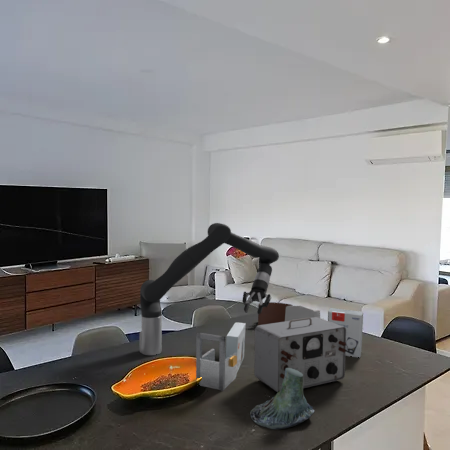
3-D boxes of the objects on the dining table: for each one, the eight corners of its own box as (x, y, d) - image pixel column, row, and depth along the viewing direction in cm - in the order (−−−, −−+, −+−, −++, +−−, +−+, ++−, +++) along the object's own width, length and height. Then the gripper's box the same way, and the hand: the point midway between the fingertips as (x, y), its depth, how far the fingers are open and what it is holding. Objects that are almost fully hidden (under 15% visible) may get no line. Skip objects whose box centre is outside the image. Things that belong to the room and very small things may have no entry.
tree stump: (248, 403, 151) (261, 354, 151) (303, 418, 150) (316, 369, 150) (249, 428, 132) (264, 372, 132) (312, 445, 132) (327, 389, 132)
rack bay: (196, 384, 164) (196, 333, 163) (211, 372, 176) (212, 324, 175) (224, 391, 159) (225, 338, 158) (238, 377, 171) (239, 328, 170)
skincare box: (237, 375, 174) (238, 336, 173) (224, 374, 175) (224, 335, 174) (245, 357, 194) (245, 322, 193) (233, 356, 195) (234, 321, 194)
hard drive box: (326, 353, 200) (327, 311, 199) (328, 348, 207) (329, 307, 206) (360, 358, 194) (362, 314, 193) (362, 352, 201) (363, 310, 200)
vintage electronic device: (280, 400, 152) (282, 331, 151) (254, 381, 168) (255, 318, 167) (348, 383, 167) (350, 320, 165) (317, 367, 183) (319, 309, 181)
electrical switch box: (321, 346, 216) (324, 306, 218) (311, 350, 204) (314, 307, 205) (294, 340, 224) (297, 302, 226) (282, 344, 212) (286, 303, 213)
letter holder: (293, 328, 239) (293, 303, 238) (257, 326, 242) (258, 301, 241) (293, 323, 248) (294, 299, 248) (259, 321, 252) (259, 298, 251)
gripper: (245, 277, 211) (235, 306, 201) (273, 280, 205) (264, 310, 195) (249, 286, 216) (239, 315, 206) (276, 288, 211) (268, 318, 200)
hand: (252, 312), depth 201 cm, fingers open, 5 cm apart
